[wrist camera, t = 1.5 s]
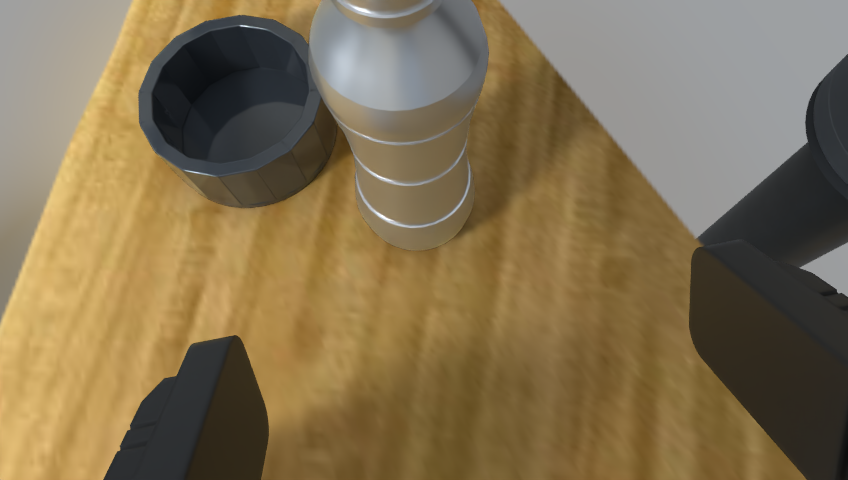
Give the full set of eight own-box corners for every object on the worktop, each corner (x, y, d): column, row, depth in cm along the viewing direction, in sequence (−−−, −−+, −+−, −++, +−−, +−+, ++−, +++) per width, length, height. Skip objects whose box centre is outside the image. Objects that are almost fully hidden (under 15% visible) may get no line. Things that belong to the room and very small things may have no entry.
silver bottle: (434, 138, 36) (417, -196, 18) (495, 226, 34) (551, -47, 16) (341, 190, 36) (220, -105, 17) (399, 283, 33) (334, 67, 15)
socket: (325, 50, 39) (310, 1, 35) (347, 190, 36) (333, 155, 31) (170, 78, 39) (136, 32, 34) (177, 222, 35) (139, 191, 31)
